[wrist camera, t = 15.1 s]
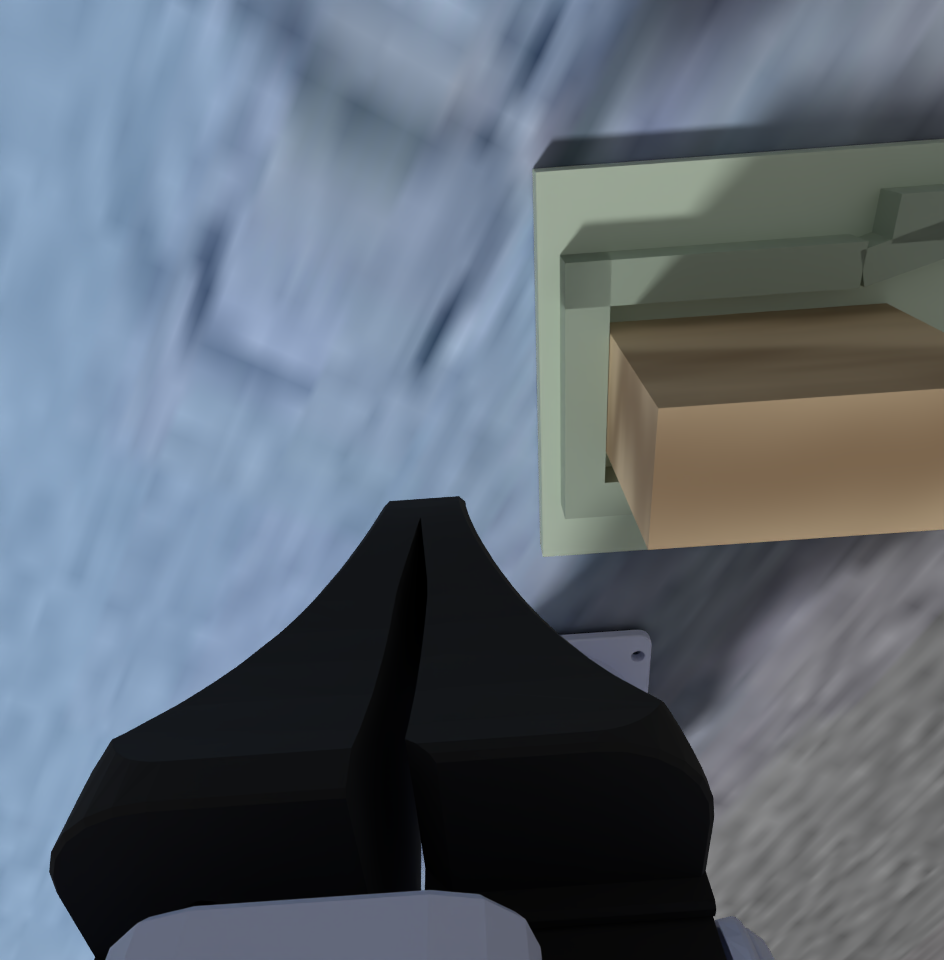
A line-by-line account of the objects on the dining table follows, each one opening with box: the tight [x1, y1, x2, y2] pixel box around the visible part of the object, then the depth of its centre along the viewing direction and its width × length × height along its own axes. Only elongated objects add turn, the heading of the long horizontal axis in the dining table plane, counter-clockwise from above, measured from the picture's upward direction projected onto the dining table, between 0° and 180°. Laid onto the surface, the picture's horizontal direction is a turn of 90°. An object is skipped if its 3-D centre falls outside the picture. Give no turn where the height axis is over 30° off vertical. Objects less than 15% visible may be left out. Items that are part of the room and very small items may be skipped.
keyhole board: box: [533, 139, 944, 557], centre depth 21 cm, size 12×19×2 cm, turn 94°
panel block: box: [606, 303, 944, 550], centre depth 18 cm, size 4×8×6 cm, turn 94°
